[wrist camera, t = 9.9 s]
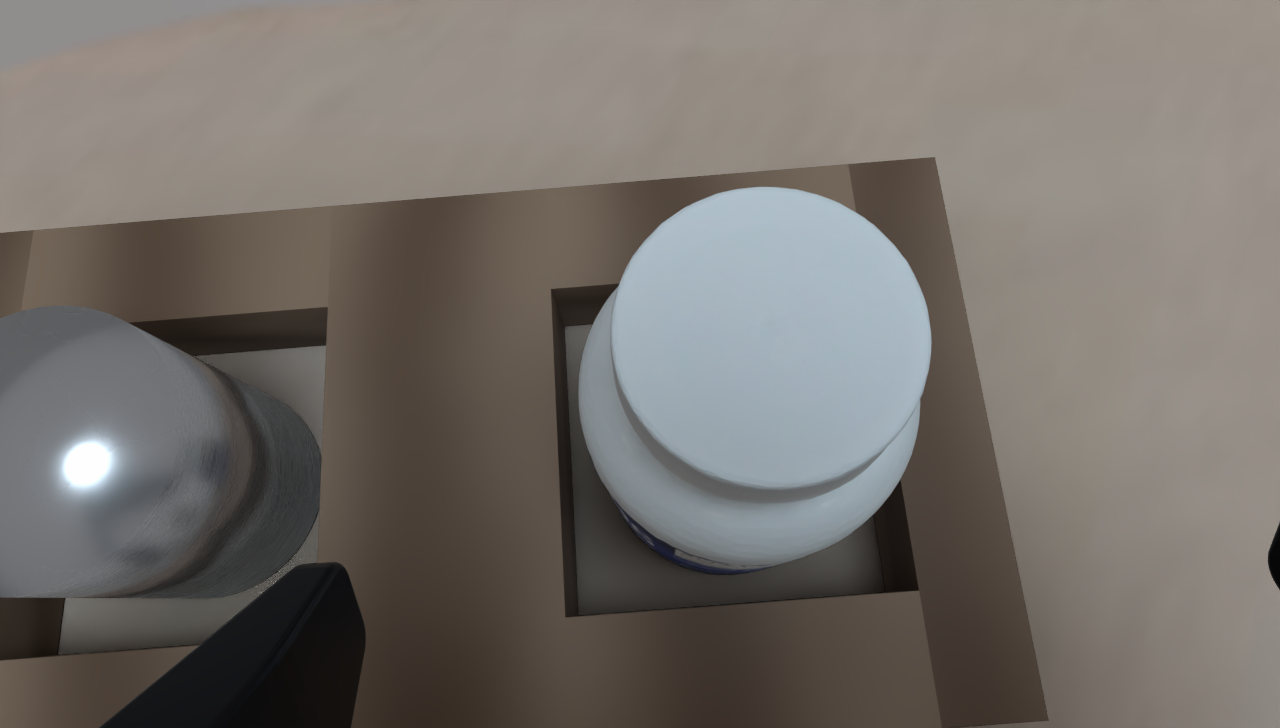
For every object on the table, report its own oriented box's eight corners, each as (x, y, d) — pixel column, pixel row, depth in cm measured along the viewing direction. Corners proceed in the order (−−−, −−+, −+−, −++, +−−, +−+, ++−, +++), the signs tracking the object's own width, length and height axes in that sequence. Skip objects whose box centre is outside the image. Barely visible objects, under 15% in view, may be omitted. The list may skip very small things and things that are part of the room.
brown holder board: (903, 208, 21) (934, 157, 18) (996, 703, 17) (1048, 720, 15) (30, 278, 21) (-52, 237, 19) (-49, 782, 18) (-162, 810, 15)
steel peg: (202, 645, 18) (-10, 666, 13) (75, 496, 19) (-174, 452, 14) (365, 484, 19) (237, 434, 13) (235, 351, 20) (65, 251, 15)
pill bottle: (597, 366, 20) (537, 157, 11) (812, 343, 20) (940, 113, 11) (618, 589, 18) (568, 577, 9) (850, 565, 18) (1040, 526, 9)
